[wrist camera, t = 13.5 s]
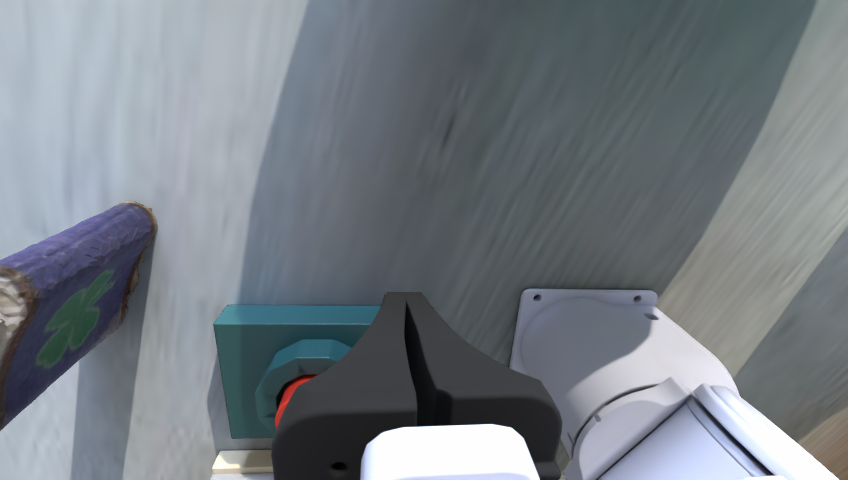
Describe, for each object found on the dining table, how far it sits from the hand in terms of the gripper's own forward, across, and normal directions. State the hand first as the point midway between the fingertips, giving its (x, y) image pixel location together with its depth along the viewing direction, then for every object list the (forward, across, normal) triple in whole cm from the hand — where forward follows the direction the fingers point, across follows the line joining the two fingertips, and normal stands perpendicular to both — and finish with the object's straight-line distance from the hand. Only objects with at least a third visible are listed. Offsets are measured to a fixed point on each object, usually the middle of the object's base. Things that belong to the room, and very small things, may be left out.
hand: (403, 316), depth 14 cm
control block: (+10, +4, +10) cm, 15 cm away
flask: (+11, +16, +3) cm, 20 cm away
